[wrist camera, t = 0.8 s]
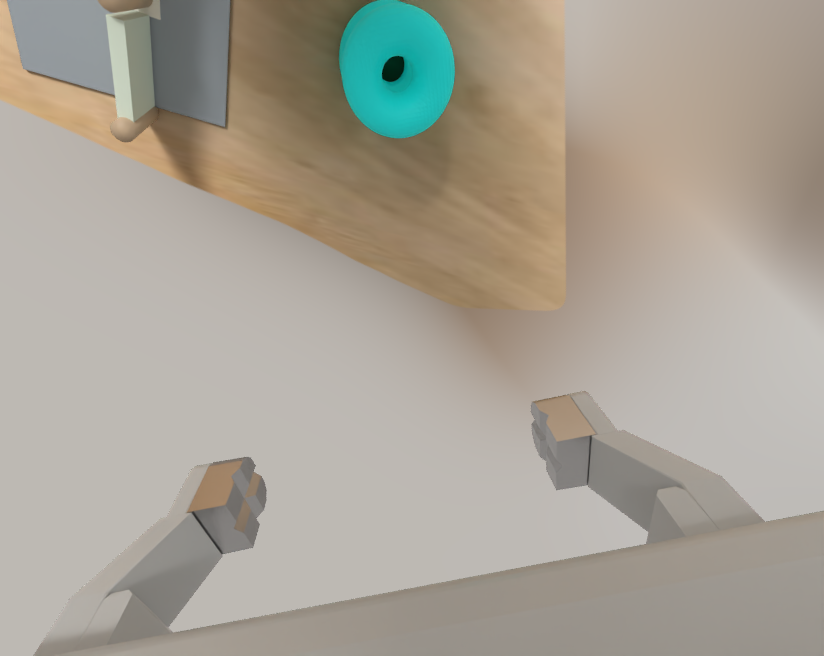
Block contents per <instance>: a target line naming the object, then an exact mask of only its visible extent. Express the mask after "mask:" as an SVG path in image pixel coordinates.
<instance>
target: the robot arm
mask: <svg viewBox="0 0 824 656" xmlns="http://www.w3.org/2000/svg"><path fill="white" fill-rule="evenodd" d="M531 413H532V415H533V417H534V419H535V421H534V422H533V423H532V434H533V439H534V443H535V446H536V449H537V451H538V453H539V455H540V457H541V458H543V459H544V460H546V465H547V467H546V468H547V472H548V474H549V476H550V478H551V480H552V482H553V484H554V486H555V488H556V490H560V489H566V488H572V487H578V486H585V485H588V487H589V488H591V489H592V490H593V491H595V492H596V493H597V494H599V495H600V496H601V497H603V498H604V499H605V500H607V501H608V502H609V503H611V504H612V505H613V506H615V507H616V508H617V509H619V510H620V511H621V512H623V513H624V514H625V515H627V516H628V517H629V518H630V519H632V520H633V521H635V522H636V523H637V524H638V525H640V526H641V527H642V528H644V529H645V530H646V531H648V532H649V533H648V538H647V542H646V544H644V545H639V546H633V547H628V548H623V549H617V550H612V551H607V552H602V553H596V554H591V555H585V556H580V557H574V558H569V559H564V560H559V561H553V562H548V563H543V564H537V565H532V566H526V567H521V568H516V569H511V570H505V571H500V572H495V573H489V574H485V575H480V576H473V577H468V578H463V579H458V580H452V581H447V582H442V583H436V584H431V585H426V586H420V587H416V588H410V589H404V590H399V591H394V592H388V593H383V594H378V595H372V596H367V597H362V598H356V599H351V600H345V601H340V602H335V603H330V604H324V605H319V606H314V607H308V608H303V609H297V610H292V611H287V612H282V613H276V614H271V615H265V616H261V617H254V618H249V619H244V620H239V621H233V622H228V623H223V624H218V625H212V626H207V627H201V628H196V629H191V630H186V631H180V632H174V633H173V632H172V631H171V630H170V629H169V628H168V627H169V626H170V624H171V623H172V622H173V620H174V619H175V618H176V616H177V615H178V614H179V613H180V611H181V610H182V609H183V607H184V606H185V605H186V603H187V602H188V601H189V599H190V598H191V597H192V596H193V594H194V593H195V592H196V590H197V589H198V588H199V586H200V585H201V584H202V582H203V581H204V580H205V579H206V577H207V576H208V575H209V573H210V572H211V571H212V569H213V568H214V567H215V565H216V564H217V563H218V561H219V560H220V559H221V558H222V554H226V553H231V552H235V551H240V550H244V549H249V548H253V546H254V542H255V539H256V536H257V532H258V528H259V522H258V521H257V519H256V518H257V517H258V516H259V515H260V513H261V512H262V511H263V510H264V507H265V503H266V487H265V482H264V480H263V478H262V476H260V475H258V474H256V473H255V472H254V469H255V466H256V465H255V464H254V462H253V460H252V459H251V458H249V457H243V458H237V459H232V460H225V461H219V462H213V463H210V464H204V465H197V466H195V467H194V468H193V469H191V471H190V473H189V475H188V477H187V478H186V480H185V482H184V484H183V486H182V488H181V490H180V492H179V494H178V496H177V498H176V500H175V501H174V503H173V505H172V507H171V509H170V511H169V513H168V515H167V517H165V518H161V519H159V520H158V521H157V522H156V523H155V524H154V525H153V526H151V527H150V528H149V529H148V530H147V531H146V532H145V533H144V534H142V535H141V536H140V537H139V538H138V539H137V540H136V541H135V542H133V543H132V544H131V545H130V546H129V547H128V548H127V549H125V550H124V551H123V552H122V553H121V554H120V555H119V556H118V557H116V558H115V559H114V560H113V561H112V562H111V563H110V564H108V565H107V566H106V567H105V568H104V569H103V570H102V571H101V572H99V573H98V574H97V575H96V576H95V577H94V578H93V579H92V580H90V581H89V582H88V583H87V584H86V585H85V586H84V587H82V588H81V589H80V590H79V591H78V592H77V593H76V594H75V595H74V596H72V597H71V598H70V599H69V601H68V602H67V603H66V605H65V607H64V608H63V610H62V611H61V613H60V615H59V616H58V618H57V619H56V621H55V622H54V624H53V626H52V627H51V629H50V630H49V632H48V633H47V635H46V637H45V638H44V640H43V642H42V643H41V644H40V646H39V648H38V649H37V651H36V652H35V654H34V656H824V511H820V512H815V513H809V514H804V515H799V516H794V517H788V518H783V519H778V520H773V521H767V522H765V521H764V520H763V519H762V518H761V517H760V516H759V515H758V514H757V513H756V512H755V511H754V510H753V509H752V508H751V506H750V505H749V504H748V503H747V502H746V501H745V500H744V499H743V498H742V497H741V496H740V495H739V494H738V493H737V492H736V491H735V490H734V489H733V488H732V487H731V486H730V485H729V484H728V482H727V481H726V480H725V479H724V478H723V477H722V476H720V475H717V474H715V473H713V472H711V471H709V470H707V469H705V468H703V467H700V466H698V465H696V464H694V463H692V462H690V461H688V460H686V459H684V458H682V457H680V456H677V455H675V454H673V453H671V452H669V451H667V450H664V449H662V448H660V447H658V446H656V445H654V444H652V443H650V442H648V441H646V440H644V439H641V438H639V437H637V436H635V435H633V434H631V433H629V432H627V431H625V430H621V431H618V430H617V429H616V428H615V426H614V425H613V424H612V423H611V421H610V420H609V419H608V418H607V416H606V415H605V414H604V412H603V411H602V410H601V409H600V407H599V406H598V405H597V403H596V402H595V401H594V400H593V398H592V397H591V396H590V395H589V393H588V392H586V391H582V392H577V393H572V394H568V395H563V396H558V397H553V398H549V399H543V400H539V401H534V402H532V405H531Z"/></svg>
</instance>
